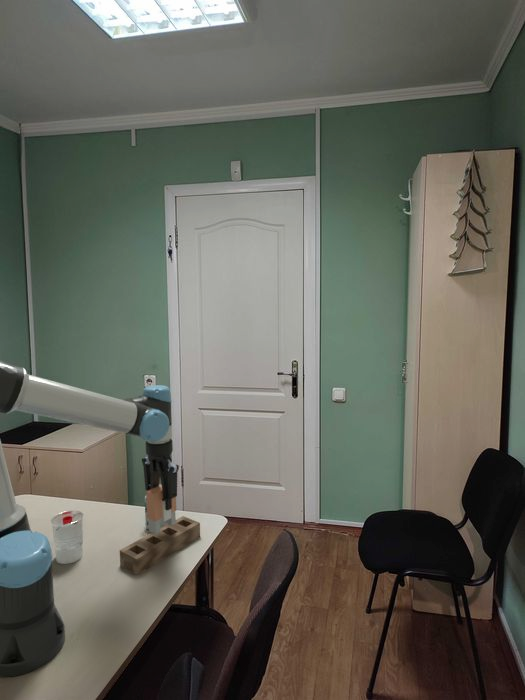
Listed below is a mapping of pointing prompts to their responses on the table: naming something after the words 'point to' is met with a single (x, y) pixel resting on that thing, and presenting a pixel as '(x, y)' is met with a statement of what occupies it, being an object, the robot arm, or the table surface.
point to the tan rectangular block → (157, 509)
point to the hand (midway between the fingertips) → (161, 517)
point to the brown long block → (159, 545)
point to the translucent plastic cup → (68, 536)
